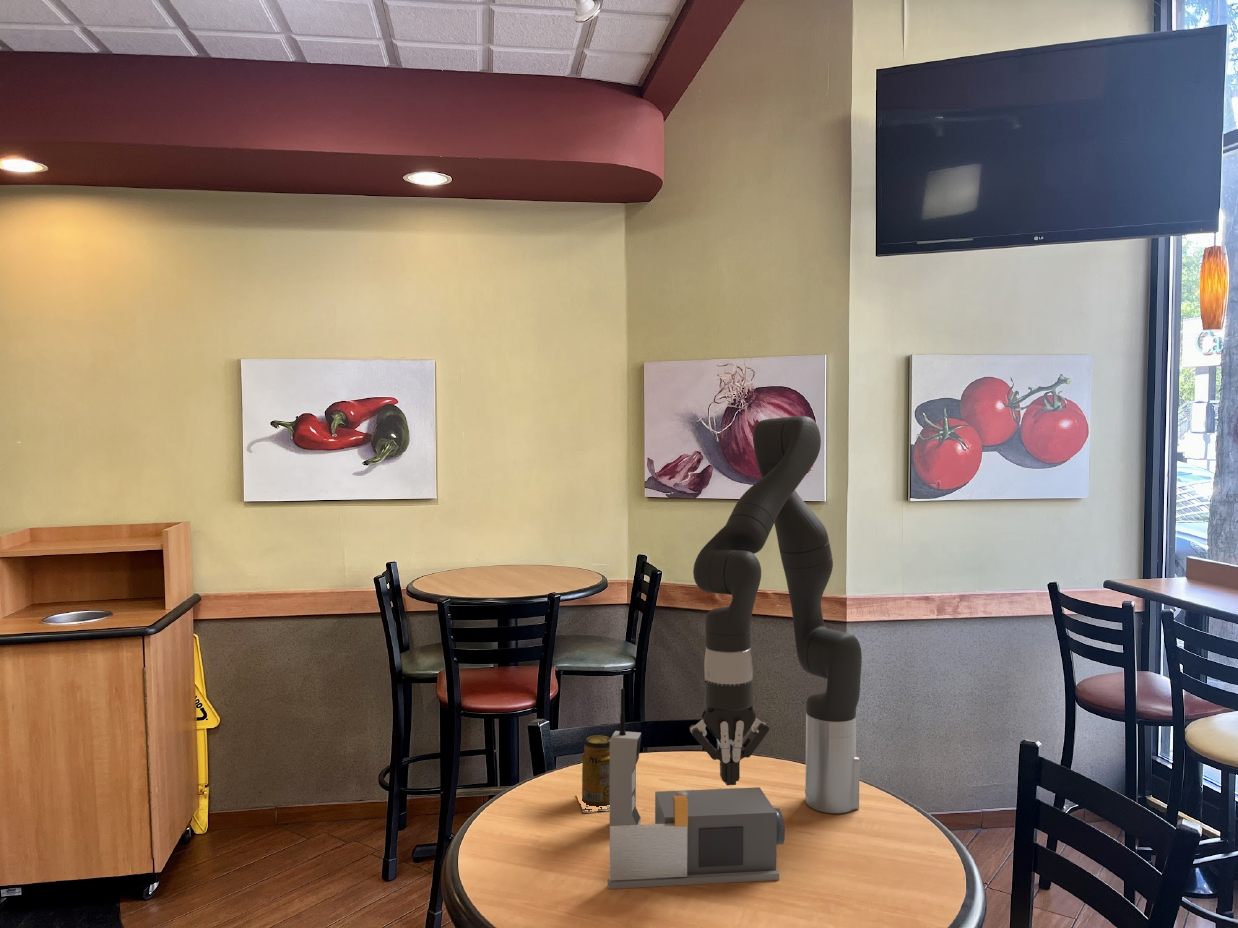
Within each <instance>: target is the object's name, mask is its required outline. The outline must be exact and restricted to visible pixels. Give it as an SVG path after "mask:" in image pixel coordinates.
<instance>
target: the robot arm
mask: <svg viewBox="0 0 1238 928" xmlns="http://www.w3.org/2000/svg"><path fill="white" fill-rule="evenodd" d="M752 434H753V437H752V442H753V443H752V444H753V451H754V455H755V459H756V463H757V467H758V469H759V473H760V476H761V478H760V479H759V480H758V481H757V482H756V483H754V484H753V485H751V486H750V488H748V489H747V490H745V492H744V493H743V494H742V495H741V497H739V499H738V500H737V502H736V503H735V506H734V508H733V510H732V512H731V513H730V515H729V517H728V520H727V522H726V523H725V525H724V526H723V527H721V529H720V530H718V532H717V533H716V534H715V535H714V536H713V537H712V538H711V539H710V540H709V541H707V543H706V544H705V545H704V546H703V547H702V548H701V550H700V551H699V552H698V554H697V557H696V558H695V561H694V563H693V570H692V572H693V580H694V582H695V585H696V586H697V587H698V588H699V589H700V590H702V591H703V592H707V593H711V594H719V595H720V594H721V595H729V596H730V595H731V598H732V599H731V602H730V604H729V606H724V607H717V608H713V609H710V610H709V611H708V612H707V613H706V616H705V652H704V653H705V655H704V665H703V666H704V710H703V712H702V713H701V714H702V715H701V720H699V721H698V722H697V723H696V724H691V725H690V726H689V727H688V729H689V731H690V733H691V734H692V737H694V739H695V741H697V742H698V744H699V745H700V746H701V747H702V748H703V750H704V751H705V752H706V753H707V755H708V756H709V757H710V758H711V759H712V760H713V761H716V760H717V761H719V776H720V779H721V781H722V782H723V783H724V784H725V785H726V786H737V782H739V780H740V778H741V777H740V774H741V773H740V762H741V761H742V760H743V759H745V758H747V759H748V758H750V757H751V756H752V755H753V753H754V752H755V751H756V749H757V748H758V747H759V745H760V744H761V742H762V741H763V739H764V738H765V736H767V734H768V732H769V731H770V727H769V726H768V724H767V723H766V722H764V720H760V719H759V718H757V714H756V712H755V710H754V705H753V704H754V703H753V701H754V694H753V687H754V686H753V685H754V684H753V682H754V681H753V676H754V668H753V658H752V657H753V656H752V650H751V648H752V647H751V622H752V621H751V620H752V615H753V610H754V605H755V602H756V599H757V595H758V591H759V587H760V584H761V580H762V567H761V563H760V561H759V559H758V557H757V555H755V554H757V553H759V552H760V551H761V550H762V549H763V547H764V546H765V544H766V542H767V540H768V538H769V536H770V533H771V531H772V529H773V527H775V534H776V538H777V544H778V549H779V554H780V555H779V556H780V559H781V564H782V568H783V572H784V576H785V580H786V585H787V590H788V595H789V602H790V606H791V608H790V609H791V614H792V621H793V624H792V625H793V632H794V633H793V634H794V642H795V649H796V654H797V659H798V662H799V664H800V666H801V668H802V669H803V670H804V671H805V673H807V674H810V675H813V676H816V677H819V678H823V679H827V681H826V687H825V688H826V690H825V691H824V692H823V691H822V692H817V693H813V694H811V695H810V696H808V697H807V698H806V704H805V789H804V790H805V791H804V793H805V804H806V805H807V806H808V807H809V808H811V809H813V810H815V811H818V812H822V813H825V814H826V813H827V814H845V813H849V812H851V811H854V810H860V764H861V763H860V760H861V759H860V757H858V756H857V755H856V754H857V753H856V752H857V751H856V749H857V748H856V747H857V746H856V745H857V744H856V739H857V738H856V733H857V722H856V721H857V707H858V705H859V702H860V701H859V700H860V693H861V692H860V691H861V678H862V666H863V663H862V662H863V661H862V659H863V657H862V654H863V653H862V648H861V644H860V641H859V639H858V638H857V637H856V636H855V635H853V634H852V633H849V632H845V631H841V630H835V629H831V628H827V626H826V625H825V622H824V618H823V613H822V612H823V610H822V599H823V598H822V597H823V595H824V592H825V590H826V587H827V585H828V583H829V581H830V579H831V576H832V573H833V567H834V562H833V554H832V549H831V543H830V539H829V538H830V537H829V534H828V532H827V528H826V526H825V525H824V524H823V522H822V521H821V519H820V518H819V517H818V516H817V515H816V513H815V512H814V511H813V510H812V509H811V508H810V507H809V505H808V504H807V503H806V502H805V501H804V500H803V498H802V497H801V496H800V495H799V493H798V492H797V490H796V489H797V488H798V487H799V485H800V484H801V482H802V481H803V479H804V478H805V476H807V474H808V472H809V471H810V470H811V468H812V467H813V466H814V464H815V462H816V461H817V460H818V457H819V455H820V451H821V445H822V444H821V443H822V439H821V432H820V428H819V426H818V424H817V422H816V421H815V420H814V419H813V418H812V417H809V416H806V415H794V416H784V417H776V418H766V419H763V420H760V421H758V422H757V423H756V424H755V427H754V429H753V433H752ZM706 727H707V729H708V730H709V731H710V733H711V734H712V735H713V737H715V738H716V742H717V748H715V747H714V745H712V743H711V742H710V741H709V740H708V738H706V736H707V735H708V732H707V730H706ZM750 730H751V731H750ZM749 731H750V732H749ZM748 732H749V734H748V736H747V737H746V738H745V739H744V741H743V738H744V737H745V736H746V735H747V733H748Z"/></svg>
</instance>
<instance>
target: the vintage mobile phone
mask: <svg viewBox="0 0 1238 928" xmlns="http://www.w3.org/2000/svg"><path fill="white" fill-rule="evenodd" d="M619 719H620V720H619V727H620V728H619V730H615V731H614V732H613V733H612V736H611V737H609V738H610V811H609V827H610V826H623V825H641V824H642V820H641V819H642V818H641V815H640V813H639V812H638V809H637V805H636V800H637V799H636V797H637V796H636V795H637V793H636V792H637V791H636V787H637V783H636V782H637V780H636V779H637V778H636V777H637V774H636V773H637V772H636V770H637V763H638V761H639V759H640V748H641V741H642V740H641V736H642V732H637V731H626V730H625V729H626V716H625V688H620V717H619Z"/></svg>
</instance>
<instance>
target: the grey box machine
mask: <svg viewBox="0 0 1238 928" xmlns="http://www.w3.org/2000/svg"><path fill="white" fill-rule="evenodd" d="M654 795H655V798H654V824H668V823H673V796H680V795H686V796H687V799H688V826H687V877H669V878H650V879H630V880H611V881H610V878H608V879H607V889H608V890H615V889H633V888H634V889H635V888H636V889H637V888H653V887H655V888H656V887H672V886H673V887H674V886H688V885H689V886H690V885H707V884H708V885H709V884H710V885H711V884H725V883H727V884H729V883H745V882H746V883H748V882H764V881H765V882H766V881H780V872H779V870H777V848H778V847H777V846H781V845H782V846H783V844H784V842H785V835H786V834H785V832H786V831H785V821H784V817H783V813H782V811H781V809H780V808H779V807H774V806H773V805H772V804H771V802H770V800H769V799H768V797H767V796H766V795H765V793H764V792H763V790H762V788H761V787H760V786H759V787H736V788H712V789H711V788H710V789H688V790H687V789H686V790H685V789H684V790H663V791H661V790H659V791H655V793H654Z"/></svg>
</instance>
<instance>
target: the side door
mask: <svg viewBox="0 0 1238 928" xmlns="http://www.w3.org/2000/svg"><path fill="white" fill-rule="evenodd" d="M687 826H688V799H687V796H686V795H680V796H673V823H668V824H655V823H650V824H649V823H648V824H647V823H646V824H640V825H623V826H610V825H609V879H610V881H611V880H630V879H650V878H669V877H687Z"/></svg>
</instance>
